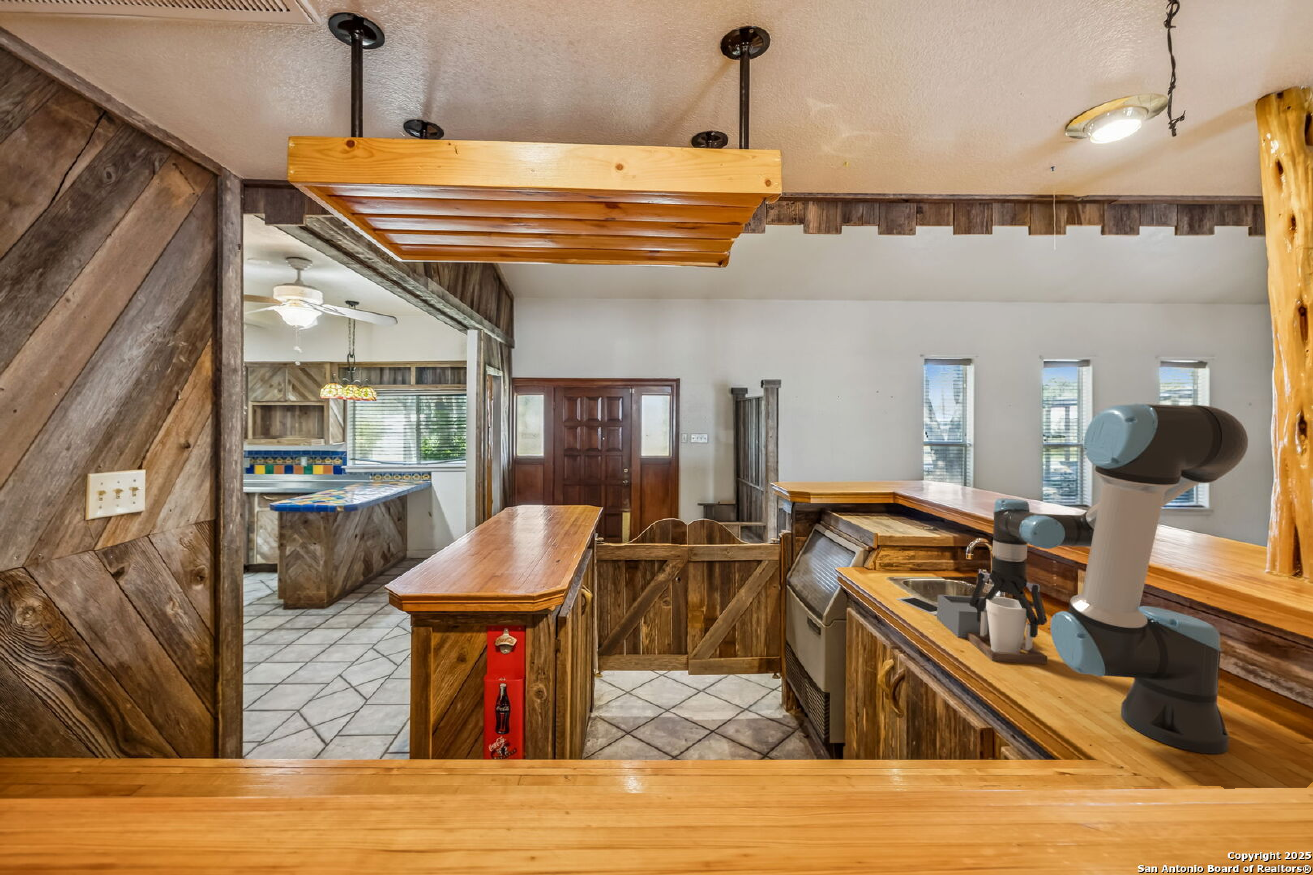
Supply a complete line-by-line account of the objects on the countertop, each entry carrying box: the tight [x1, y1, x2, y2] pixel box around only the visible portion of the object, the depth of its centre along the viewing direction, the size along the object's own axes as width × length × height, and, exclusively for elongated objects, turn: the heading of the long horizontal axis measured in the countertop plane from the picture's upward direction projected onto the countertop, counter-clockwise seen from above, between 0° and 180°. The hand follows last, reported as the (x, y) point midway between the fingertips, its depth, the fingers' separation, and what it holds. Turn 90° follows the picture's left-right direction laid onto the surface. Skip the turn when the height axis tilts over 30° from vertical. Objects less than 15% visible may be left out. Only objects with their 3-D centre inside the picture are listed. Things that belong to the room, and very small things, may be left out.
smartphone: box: [896, 595, 937, 617], centre depth 171 cm, size 7×16×1 cm, turn 20°
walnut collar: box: [966, 632, 1048, 665], centre depth 138 cm, size 13×13×2 cm
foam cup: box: [986, 596, 1028, 653], centre depth 138 cm, size 10×9×13 cm
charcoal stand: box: [936, 594, 989, 639], centre depth 152 cm, size 14×14×8 cm
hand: (1005, 641), depth 138 cm, fingers open, 10 cm apart
